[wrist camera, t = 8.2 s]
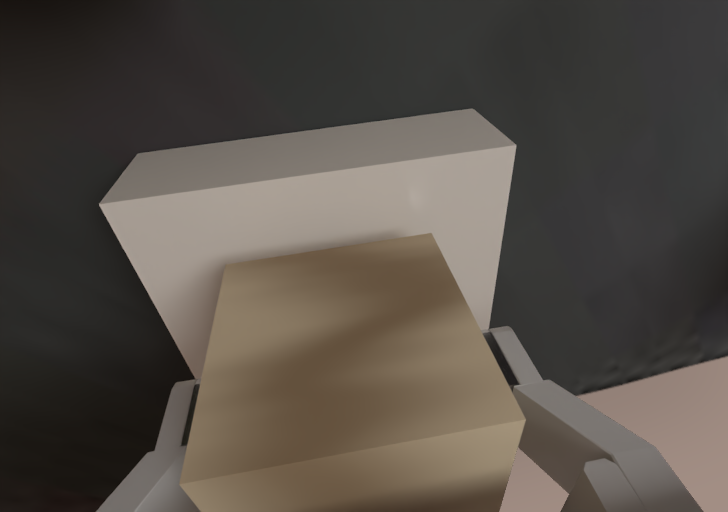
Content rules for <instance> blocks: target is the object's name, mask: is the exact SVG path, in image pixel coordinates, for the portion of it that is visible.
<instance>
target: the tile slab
mask: <svg viewBox="0 0 728 512" xmlns="http://www.w3.org/2000/svg"><path fill="white" fill-rule="evenodd" d="M515 151H516V144H514V143H513V142H512V141H511V140H510V139H509V138H507V137H506V136H505V135H504V134H503V133H501V132H500V131H499V130H498V129H497V128H495V127H494V126H493V125H492V124H491V123H489V122H488V121H487V120H486V119H485V118H483V117H482V116H481V115H480V114H479V113H478V112H476V111H475V110H474V109H473V108H472V109H465V110H457V111H450V112H443V113H435V114H428V115H420V116H413V117H405V118H398V119H390V120H383V121H376V122H368V123H361V124H353V125H346V126H338V127H331V128H324V129H316V130H309V131H301V132H294V133H286V134H279V135H272V136H264V137H257V138H249V139H242V140H234V141H227V142H220V143H212V144H205V145H197V146H190V147H182V148H175V149H168V150H160V151H153V152H145V153H138V154H137V155H136V157H135V158H134V159H133V160H132V162H131V163H130V164H129V166H128V167H127V168H126V170H125V171H124V172H123V173H122V175H121V176H120V177H119V179H118V180H117V181H116V183H115V184H114V185H113V186H112V188H111V189H110V190H109V192H108V193H107V194H106V196H105V197H104V198H103V199H102V201H101V202H100V203H99V206H100V207H101V209H102V211H103V213H104V215H105V216H106V218H107V220H108V222H109V224H110V225H111V227H112V229H113V231H114V233H115V234H116V236H117V238H118V240H119V242H120V244H121V245H122V247H123V249H124V251H125V253H126V254H127V256H128V258H129V260H130V262H131V263H132V265H133V267H134V269H135V271H136V272H137V274H138V276H139V278H140V280H141V281H142V283H143V285H144V287H145V289H146V290H147V292H148V294H149V296H150V298H151V299H152V301H153V303H154V305H155V307H156V308H157V310H158V312H159V314H160V316H161V318H162V319H163V321H164V323H165V325H166V327H167V328H168V330H169V332H170V334H171V336H172V337H173V339H174V341H175V343H176V345H177V346H178V348H179V350H180V352H181V354H182V355H183V357H184V359H185V361H186V363H187V364H188V366H189V368H190V370H191V372H192V373H193V375H194V377H195V379H200V378H202V373H203V369H204V364H205V359H206V354H207V350H208V345H209V340H210V336H211V331H212V326H213V321H214V317H215V312H216V307H217V302H218V298H219V293H220V288H221V283H222V279H223V274H224V269H225V265H226V264H233V263H239V262H246V261H252V260H259V259H265V258H272V257H278V256H285V255H291V254H298V253H304V252H311V251H317V250H324V249H330V248H337V247H343V246H350V245H356V244H363V243H369V242H376V241H382V240H389V239H395V238H402V237H408V236H414V235H421V234H427V233H432V235H433V237H434V239H435V241H436V243H437V245H438V247H439V249H440V251H441V253H442V255H443V257H444V259H445V261H446V263H447V265H448V267H449V269H450V270H451V272H452V274H453V276H454V278H455V280H456V282H457V284H458V286H459V288H460V290H461V292H462V294H463V296H464V298H465V300H466V302H467V304H468V306H469V308H470V310H471V312H472V314H473V316H474V318H475V320H476V322H477V324H478V326H479V328H480V330H484V329H487V330H488V329H489V323H490V316H491V310H492V303H493V296H494V290H495V283H496V277H497V270H498V263H499V257H500V250H501V243H502V237H503V230H504V224H505V217H506V210H507V204H508V197H509V191H510V184H511V177H512V171H513V164H514V158H515Z"/></svg>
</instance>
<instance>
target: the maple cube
mask: <svg viewBox="0 0 728 512" xmlns="http://www.w3.org/2000/svg"><path fill="white" fill-rule="evenodd" d="M525 421H526V419H525V417H524V415H523V413H522V411H521V409H520V407H519V405H518V403H517V401H516V399H515V397H514V395H513V393H512V391H511V389H510V387H509V385H508V383H507V381H506V379H505V377H504V375H503V373H502V371H501V369H500V367H499V365H498V363H497V361H496V359H495V357H494V355H493V353H492V351H491V349H490V347H489V345H488V344H487V342H486V340H485V338H484V336H483V334H482V332H481V330H480V328H479V326H478V324H477V322H476V320H475V318H474V316H473V314H472V312H471V310H470V308H469V306H468V304H467V302H466V300H465V298H464V296H463V294H462V292H461V290H460V288H459V286H458V284H457V282H456V280H455V278H454V276H453V274H452V272H451V270H450V269H449V267H448V265H447V263H446V261H445V259H444V257H443V255H442V253H441V251H440V249H439V247H438V245H437V243H436V241H435V239H434V237H433V235H432V233H427V234H421V235H414V236H408V237H402V238H395V239H389V240H382V241H376V242H369V243H363V244H356V245H350V246H343V247H337V248H330V249H324V250H317V251H311V252H304V253H298V254H291V255H285V256H278V257H272V258H265V259H259V260H252V261H246V262H239V263H233V264H226V265H225V269H224V274H223V279H222V283H221V288H220V293H219V298H218V302H217V307H216V312H215V317H214V321H213V326H212V331H211V336H210V340H209V345H208V350H207V354H206V359H205V364H204V369H203V373H202V378H201V383H200V388H199V392H198V397H197V402H196V407H195V411H194V416H193V421H192V426H191V430H190V435H189V440H188V444H187V449H186V454H185V459H184V463H183V468H182V473H181V478H180V482H179V485H180V486H181V487H182V489H183V490H184V491H185V492H186V494H187V495H188V496H189V497H190V499H191V500H192V501H193V502H194V504H195V505H196V506H197V507H198V509H199V510H200V511H201V512H499V510H500V507H501V504H502V500H503V497H504V493H505V490H506V486H507V483H508V479H509V476H510V472H511V469H512V466H513V462H514V459H515V455H516V452H517V449H518V445H519V442H520V438H521V435H522V431H523V428H524V424H525Z"/></svg>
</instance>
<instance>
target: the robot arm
mask: <svg viewBox="0 0 728 512" xmlns="http://www.w3.org/2000/svg"><path fill="white" fill-rule="evenodd" d="M481 332H482V334H483V336H484V338H485V340H486V342H487V344H488V345H489V347H490V349H491V351H492V353H493V355H494V357H495V359H496V361H497V363H498V365H499V367H500V369H501V371H502V373H503V375H504V377H505V379H506V381H507V383H508V385H509V387H510V389H511V391H512V393H513V395H514V397H515V399H516V401H517V403H518V405H519V407H520V409H521V411H522V413H523V415H524V417H525V419H526V421H525V424H524V428H523V431H522V435H521V438H520V442H519V445H518V447H519V448H520V449H521V450H522V451H523V452H524V453H525V454H526V455H527V456H528V457H529V458H531V459H532V460H533V461H534V462H535V463H536V464H537V465H538V466H539V467H540V468H541V469H543V470H544V471H545V472H546V473H547V474H548V475H549V476H550V477H551V478H552V479H553V480H555V481H556V482H557V483H558V484H559V485H560V486H561V487H562V488H563V489H565V490H566V491H567V492H568V493H569V496H568V498H567V500H566V502H565V504H564V506H563V508H562V510H561V512H703V511H702V509H701V508H700V506H699V505H698V504H697V503H696V501H695V500H694V498H693V497H692V496H691V494H690V493H689V492H688V490H687V489H686V488H685V486H684V485H683V484H682V482H681V481H680V479H679V478H678V477H677V475H676V474H675V473H674V471H673V470H672V469H671V467H670V466H669V465H668V463H667V462H666V461H665V459H664V458H663V457H662V455H661V454H660V452H659V451H658V450H657V448H656V447H654V446H653V445H651V444H650V443H648V442H647V441H645V440H644V439H642V438H640V437H639V436H637V435H636V434H634V433H633V432H631V431H629V430H628V429H626V428H625V427H623V426H622V425H620V424H618V423H617V422H615V421H614V420H612V419H611V418H609V417H607V416H606V415H604V414H602V413H601V412H599V411H598V410H596V409H595V408H593V407H592V406H590V405H588V404H587V403H585V402H584V401H582V400H580V399H579V398H577V397H576V396H574V395H573V394H571V393H570V392H568V391H566V390H565V389H563V388H562V387H560V386H559V385H557V384H555V383H554V382H552V381H551V380H543V379H542V378H541V376H540V375H539V373H538V371H537V370H536V368H535V366H534V365H533V363H532V361H531V360H530V358H529V356H528V355H527V353H526V351H525V350H524V348H523V346H522V345H521V343H520V341H519V340H518V338H517V336H516V335H515V333H514V331H513V330H512V328H510V327H509V326H504V327H499V328H493V329H488V330H487V329H484V330H481ZM200 383H201V378H200V379H194V380H188V381H182V382H176V383H175V385H174V386H173V388H172V389H171V393H170V396H169V400H168V403H167V407H166V411H165V414H164V418H163V421H162V425H161V428H160V432H159V436H158V439H157V443H156V446H155V450H154V451H152V452H147V453H146V455H145V456H144V457H143V458H142V459H141V460H140V462H139V463H138V464H137V465H136V466H135V467H134V468H133V470H132V471H131V472H130V473H129V474H128V475H127V476H126V478H125V479H124V480H123V481H122V482H121V483H120V484H119V486H118V487H117V488H116V489H115V490H114V491H113V492H112V494H111V495H110V496H109V497H108V498H107V499H106V501H105V502H104V503H103V504H102V505H101V506H100V507H99V509H98V510H97V511H96V512H201V511H200V510H199V509H198V507H197V506H196V505H195V504H194V502H193V501H192V500H191V499H190V497H189V496H188V495H187V494H186V492H185V491H184V490H183V489H182V487H181V486H180V485H179V482H180V478H181V473H182V468H183V463H184V459H185V454H186V449H187V444H188V440H189V435H190V430H191V426H192V421H193V416H194V411H195V407H196V402H197V397H198V392H199V388H200Z"/></svg>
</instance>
